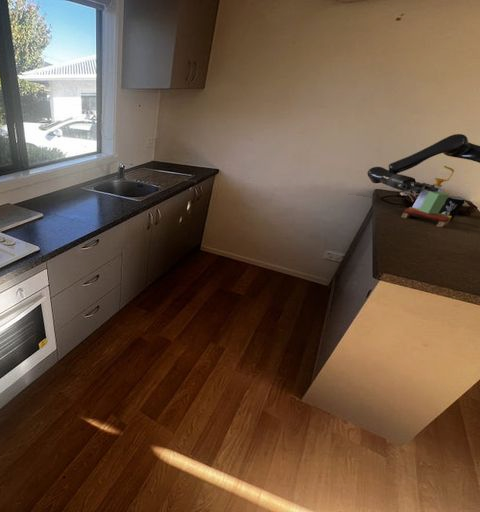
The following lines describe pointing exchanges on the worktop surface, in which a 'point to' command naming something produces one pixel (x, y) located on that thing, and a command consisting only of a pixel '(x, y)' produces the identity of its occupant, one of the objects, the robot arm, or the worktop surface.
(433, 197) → the green bar
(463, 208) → the bolt
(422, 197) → the soap bottle
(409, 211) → the rod rack
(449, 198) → the beverage can
